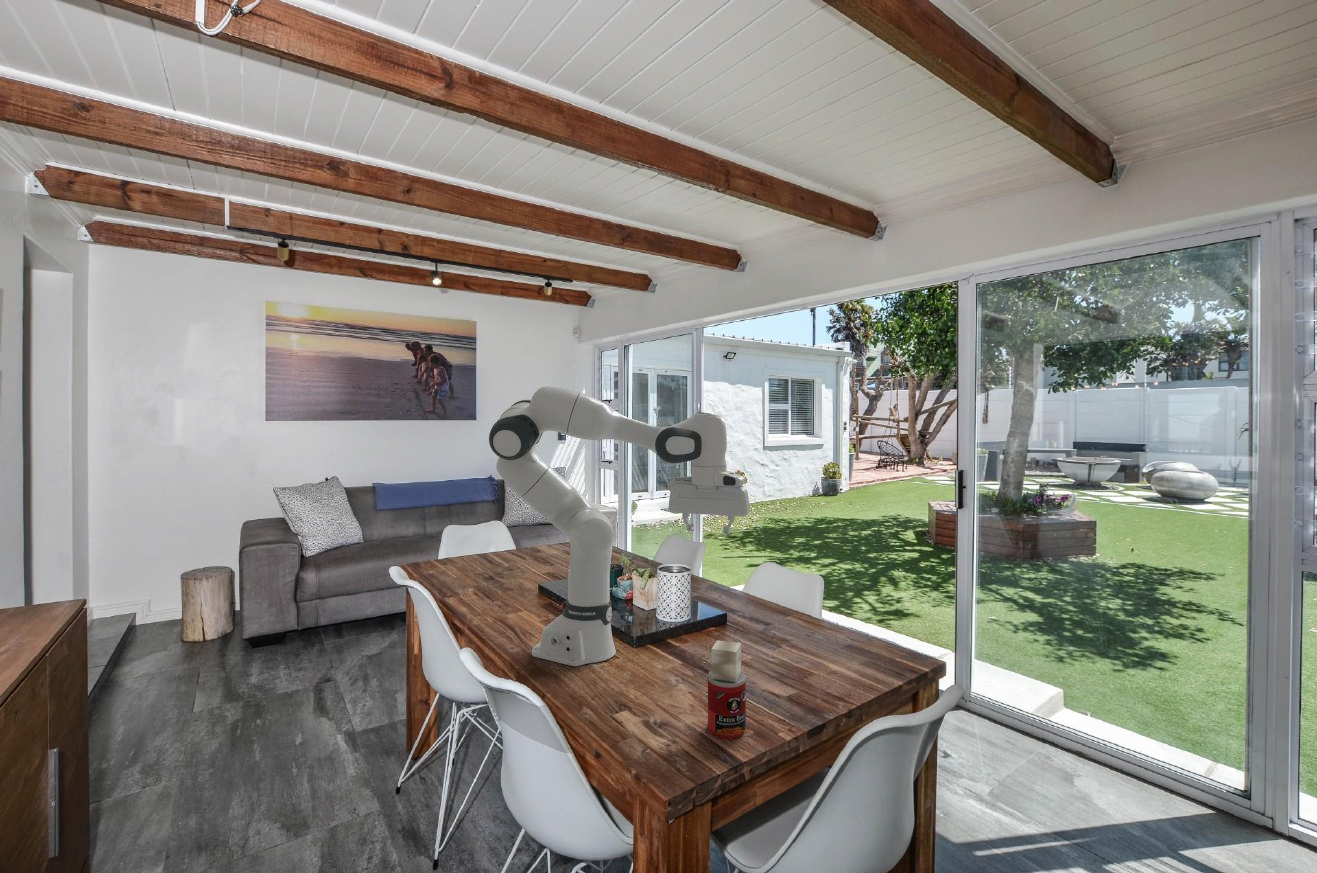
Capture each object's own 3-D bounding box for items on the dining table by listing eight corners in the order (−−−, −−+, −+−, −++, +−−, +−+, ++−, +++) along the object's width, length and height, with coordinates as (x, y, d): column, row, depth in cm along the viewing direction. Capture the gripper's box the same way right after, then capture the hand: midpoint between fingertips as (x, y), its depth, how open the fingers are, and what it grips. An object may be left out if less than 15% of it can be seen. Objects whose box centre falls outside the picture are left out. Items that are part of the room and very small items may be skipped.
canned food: (715, 742, 115) (715, 686, 115) (702, 722, 123) (702, 669, 123) (752, 737, 117) (752, 681, 117) (736, 717, 125) (736, 665, 125)
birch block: (711, 678, 118) (711, 649, 118) (716, 669, 123) (717, 640, 123) (736, 682, 117) (736, 652, 117) (740, 672, 121) (741, 643, 121)
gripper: (665, 476, 149) (664, 531, 149) (746, 479, 143) (745, 537, 143) (672, 474, 155) (672, 527, 155) (750, 477, 149) (750, 532, 149)
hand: (708, 532), depth 149 cm, fingers open, 8 cm apart
